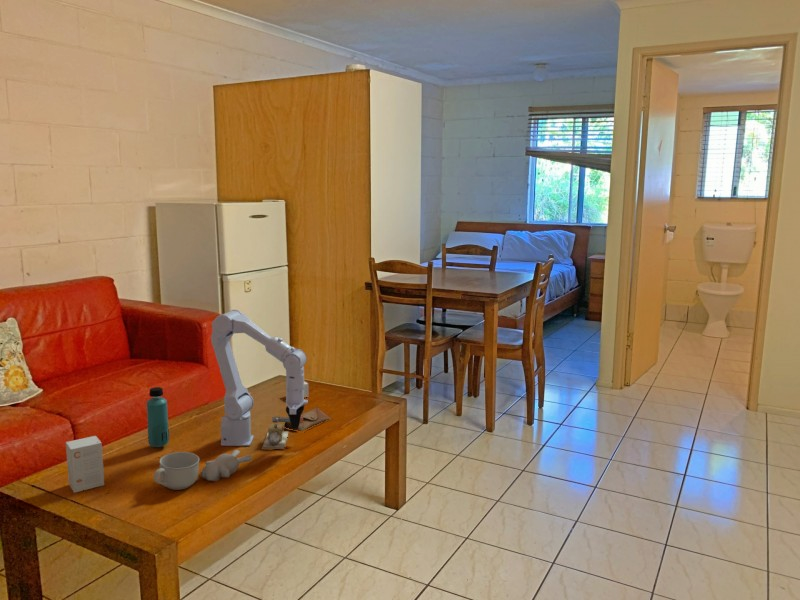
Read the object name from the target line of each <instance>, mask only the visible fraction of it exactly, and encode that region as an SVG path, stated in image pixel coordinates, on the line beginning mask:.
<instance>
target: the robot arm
mask: <svg viewBox="0 0 800 600" xmlns="http://www.w3.org/2000/svg"><path fill="white" fill-rule="evenodd" d="M211 328H212V330H211V337H210V342H211V345H212V348H213V351H214V356H215V358H216V362H217V365H218V367H219V371H220V372H219V373H220V374H221V378H222V382H223V385H224V388H225V394H224V397H223V402H224V407H223V410H224V414H225V415H223V416H222V417H221V421H220V446H224V447H226V446H228V447H229V446H231V447H233V446H234V447H241V446H242V447H244V446H245V447H246V446H248V447H249V446H251V444H252V441H253V440H254V437H255V436H254V435H253V434H252V433H251V432H252V430H251V429H252V425H251V424H252V423H251V419H252V418H251V409H252V408H253V407H254V403H255V402H254V398H253V396H252V395H251V394H250V392H249V390H248V388H247V387H245V386H244V385H243V381H242V379H241V377H240V373H239V370H238V366H237V363H236V358H235V356H234V352H233V348H232V346H231V342H230V340H231V338H232V337H233V335H234V334H246V335H247V336H248V337H251V338H252V339H254V340H255V341H256V342H259V343H260V344H261V345H263V346H264V347H265V352H267V353H268V354H269V355H271V356H272V357H274V358H275V359H277V360H278V361H279V362H281V363H282V365H283V368H284V369H285V381H286V382H285V384H286V385H285V391H286V392H285V399H286V400H285V404H286V408H285V411H286V413H287V415H288V416H287V417H289V418H290V423H291V427H292V428H298V427H299V423H300V417H301V414H303V413H304V409H305V405H307V404H309V403H308V401H309V400H308V399H304V381H305V366H304V365H305V364H306V363H307V361H308V360H307V359H308V358H307V354H306V353H305V352H304V351H303V349H299V348H295V347H294V346H291V345H290V344H288V343H287V342H286V341H284V338H282V337H278V336H274V337H273V336H270V335H269V334H268V333H267V332H266V331H265V330H263V328H261V327H260V326H258V325H257V324H255V323H254V322H253V321H252V320H250V318H249V316H248V315H246V314H245V313H243V312H241V311H240V310H238V309H232V310H230V311H228V312H225V313H222V314H219V315H218V316H215V318H214V320H212V322H211Z"/></svg>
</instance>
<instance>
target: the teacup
mask: <svg viewBox="0 0 800 600" xmlns="http://www.w3.org/2000/svg"><path fill="white" fill-rule="evenodd" d="M199 465H200V457H199V456H198V455H197V454H196V453H193V452H189V451H175V452H170V453H167V454H165V455H163V456H162V457H160V459H159V468H158V469H157V470H155V472H154V474H153V480H154V481H155V483H156V484H158V485H159V484H160V485H162V486H163V487H166V488H168V489H169V490H170V489H171V490H174V491H178V490H179V491H180V490H181V491H182V490H185V489H187V488H189V487H191V486H192V485H194V483H196V481H197V480H198V477H199V472H200V471H199V469H200V467H199Z"/></svg>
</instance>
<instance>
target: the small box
mask: <svg viewBox="0 0 800 600" xmlns="http://www.w3.org/2000/svg"><path fill="white" fill-rule="evenodd" d="M102 444H103V443H102V442H101V440H100V439H99V438H98V437H97V436H96V435H92V436H87V437H84V438H79V439H75V440H69V441H65V450H66V452H65V453H66V464H67V475H68V477H67V478H68V486H69V487H70V489H71V490H72V491H73V494H75V493H79V492H82V491H83V490H84V491H86V490H90V489H93V488H98V487H102V486H105V475H104V473H105V471H104V460H103V459H104V458H103V445H102Z"/></svg>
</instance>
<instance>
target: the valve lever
mask: <svg viewBox="0 0 800 600" xmlns="http://www.w3.org/2000/svg"><path fill="white" fill-rule="evenodd" d="M271 422H272V423H273V424H278V423H285V422H290V418H289V416H273V417H272V419H271ZM300 423H303V416H301V417H300Z"/></svg>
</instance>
